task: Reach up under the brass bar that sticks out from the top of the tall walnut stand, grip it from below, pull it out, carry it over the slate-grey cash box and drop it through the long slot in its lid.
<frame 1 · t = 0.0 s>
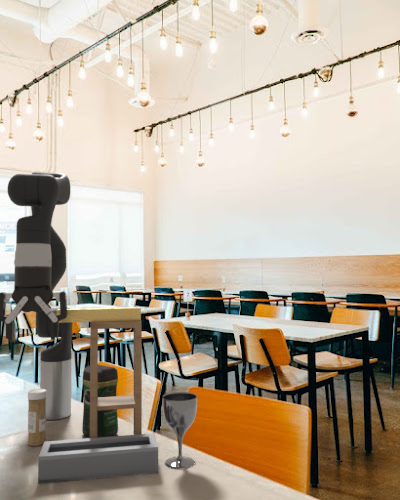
hand: (32, 340, 97), 29 cm above the table, tool pointing down, fingers open, 8 cm apart
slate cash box: (100, 469, 100), on the table
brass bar: (99, 320, 110), point 32 cm above the table, touching walnut stand
walnut stand: (115, 452, 109), on the table
coffee jar: (100, 435, 122), on the table
wine glass: (180, 463, 103), on the table
sprinkles bottle: (36, 443, 116), on the table
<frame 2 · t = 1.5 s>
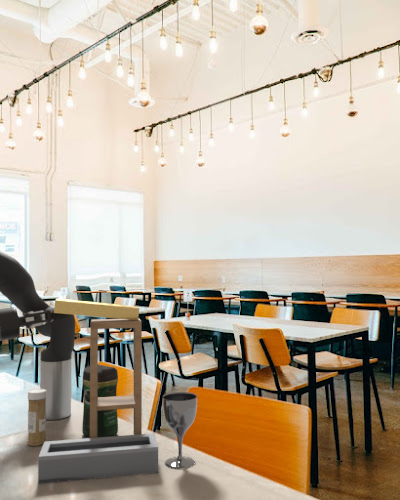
hand: (65, 314, 116), 33 cm above the table, tool horizontal, fingers open, 8 cm apart
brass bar: (96, 315, 110), point 33 cm above the table, tilted 9°, touching gripper
everything else where it was.
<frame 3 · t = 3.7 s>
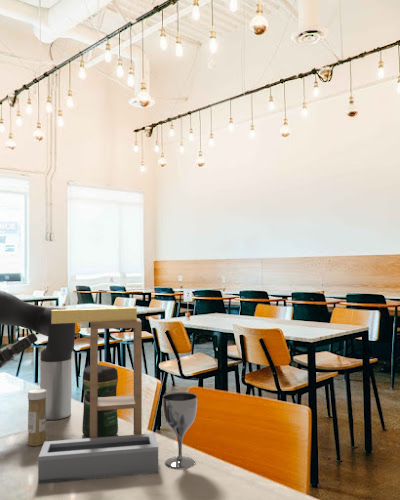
hand: (32, 338, 107), 28 cm above the table, tool pointing upward, fingers open, 8 cm apart
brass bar: (94, 321, 109), point 32 cm above the table, touching walnut stand
everything else where it was.
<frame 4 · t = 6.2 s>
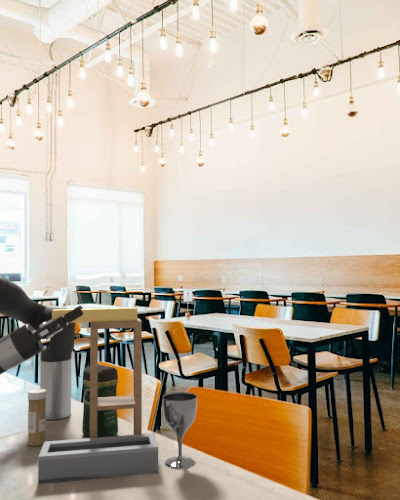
hand: (81, 309, 110), 35 cm above the table, tool pointing upward, fingers open, 4 cm apart
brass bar: (95, 321, 110), point 32 cm above the table, touching gripper, walnut stand
everything else where it was.
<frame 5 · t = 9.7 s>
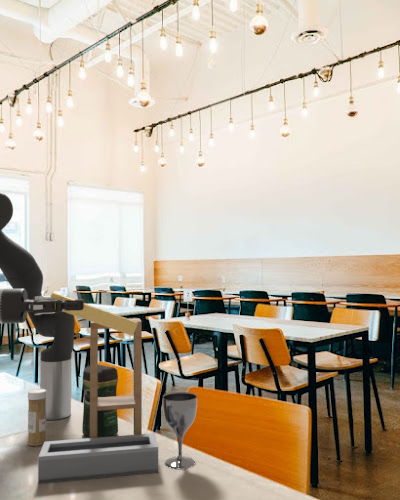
hand: (83, 304, 101), 37 cm above the table, tool horizontal, fingers closed on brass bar, 3 cm apart
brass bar: (90, 320, 101), point 33 cm above the table, tilted 21°, touching gripper
everything else where it was.
when the fingers open (11 cm above the table, at t = 13.5 s): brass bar drops 4 cm, resting on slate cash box.
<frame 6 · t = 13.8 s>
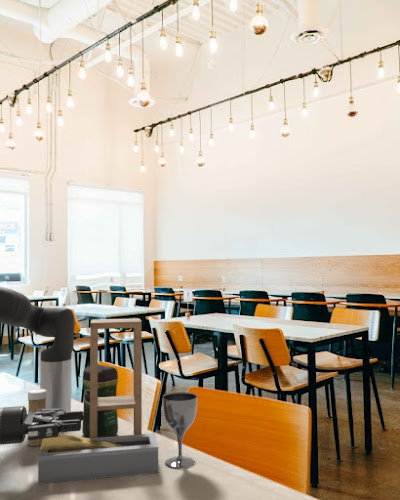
hand: (81, 420, 100), 11 cm above the table, tool horizontal, fingers open, 6 cm apart
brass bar: (86, 454, 100), point 3 cm above the table, tilted 15°, touching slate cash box
everything else where it was.
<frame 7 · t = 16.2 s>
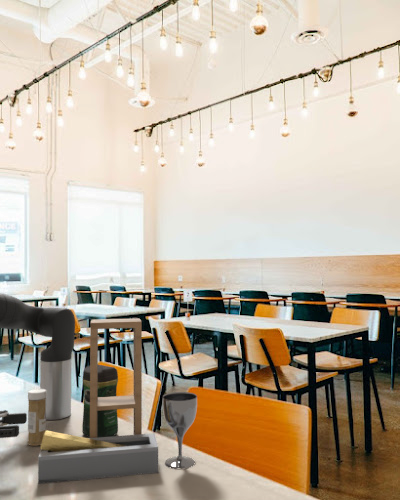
hand: (22, 424, 97), 11 cm above the table, tool horizontal, fingers open, 8 cm apart
nothing on the table moved.
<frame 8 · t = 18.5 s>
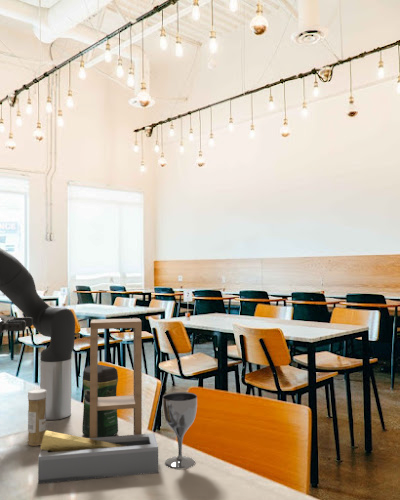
hand: (29, 323, 105), 32 cm above the table, tool horizontal, fingers open, 8 cm apart
nothing on the table moved.
at the end: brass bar inside the target area on the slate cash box (3.0 cm from its centre), point 3.4 cm above the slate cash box's base; the gripper is holding nothing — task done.
